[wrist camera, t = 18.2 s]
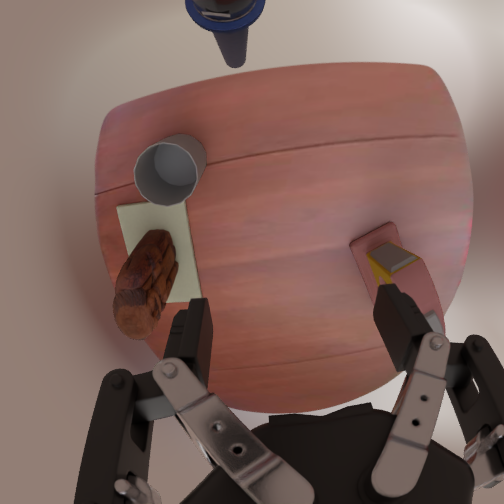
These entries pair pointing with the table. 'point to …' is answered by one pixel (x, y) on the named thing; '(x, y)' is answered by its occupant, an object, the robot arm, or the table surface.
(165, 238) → the wooden figurine
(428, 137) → the table surface
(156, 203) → the cup
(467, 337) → the robot arm
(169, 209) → the mat
